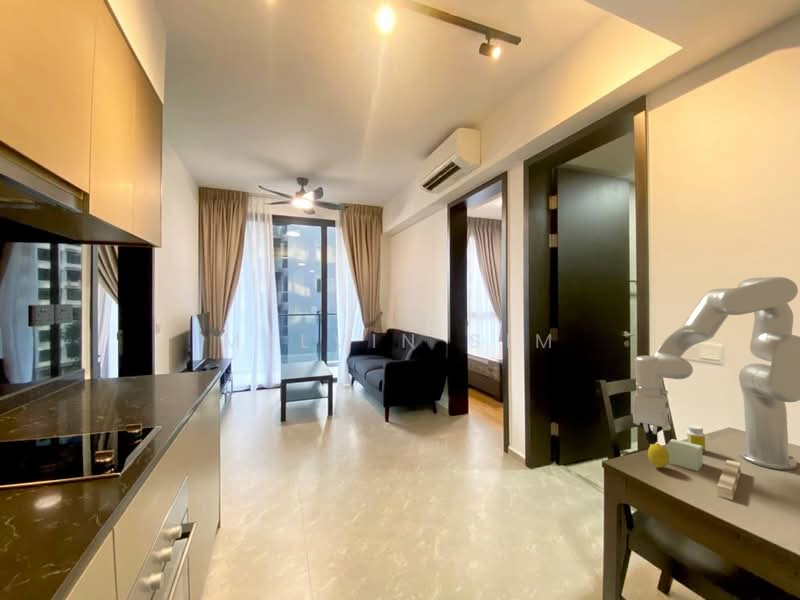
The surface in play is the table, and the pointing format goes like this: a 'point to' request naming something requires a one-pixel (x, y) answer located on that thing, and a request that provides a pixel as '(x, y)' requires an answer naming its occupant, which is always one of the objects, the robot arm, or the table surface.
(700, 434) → the supplement bottle
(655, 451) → the lemon
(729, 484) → the beige wavy bar
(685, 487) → the table surface
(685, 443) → the block
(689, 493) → the table surface
